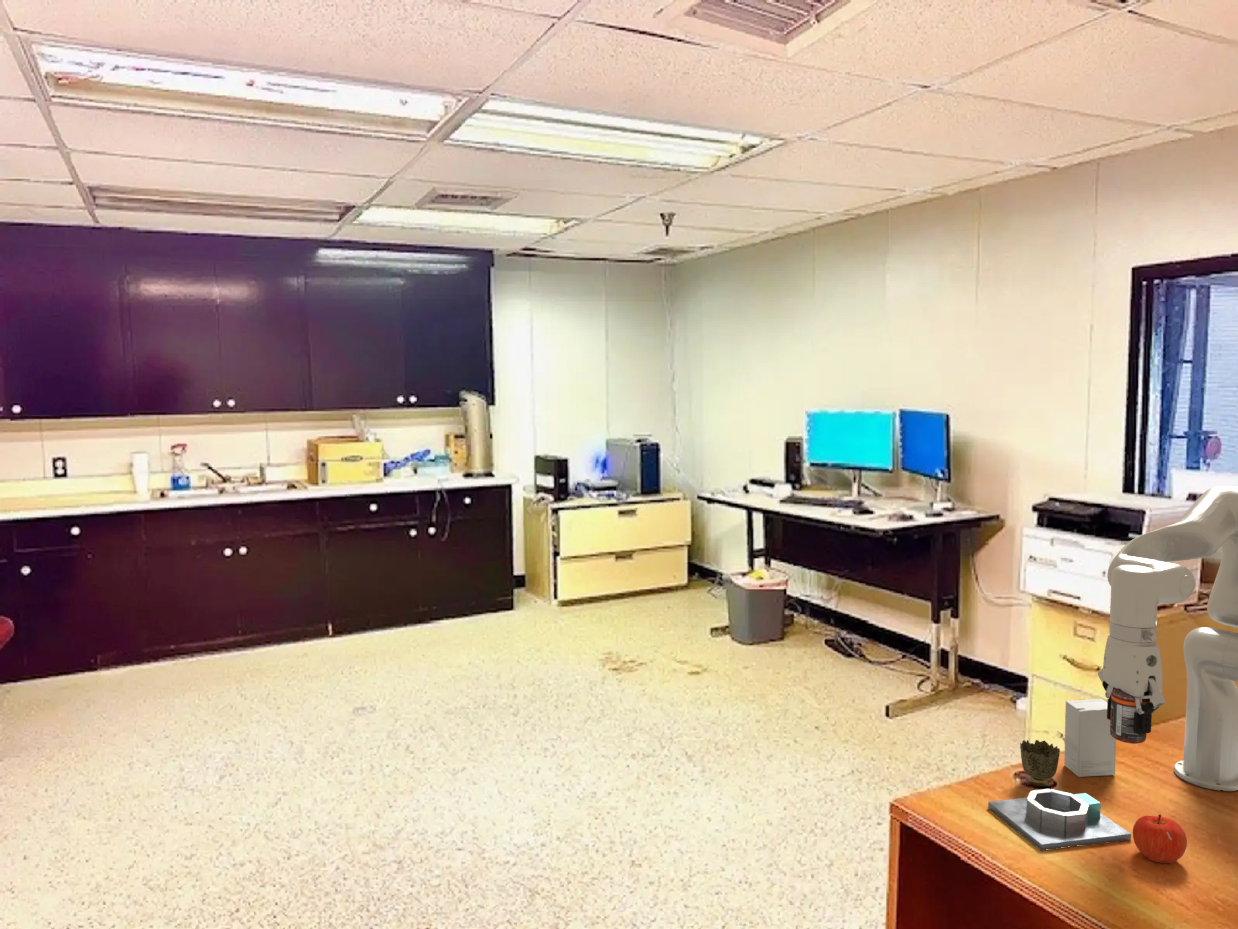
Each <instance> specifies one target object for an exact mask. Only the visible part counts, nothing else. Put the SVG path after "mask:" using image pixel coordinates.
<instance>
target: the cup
mask: <svg viewBox="0 0 1238 929" xmlns="http://www.w3.org/2000/svg"><path fill="white" fill-rule="evenodd" d="M1019 744H1020V745H1019V746H1020V747H1019V748H1020V758H1021V765H1022V768H1023V771H1024V772H1025V774H1027V775H1028V776H1029V777H1028V780H1029V782H1030V783H1031V784H1032V785H1034V786H1036V787H1047V785H1048V784H1049V779H1052V778H1053V777H1054V776H1055V774H1056V773H1057V769H1058V765H1059V760H1060V754H1061V750H1060V748H1059V747H1058V746H1057V745H1056V746H1055V747H1054V745H1053V743H1051V744H1049V743H1048V742H1047V741H1046V740H1042V741H1040V740H1038V739H1035V742H1033V743H1031V742H1030V740H1025V739H1023V740H1022V741H1021V742H1020V743H1019Z"/></svg>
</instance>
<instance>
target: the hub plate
mask: <svg viewBox="0 0 1238 929" xmlns="http://www.w3.org/2000/svg"><path fill="white" fill-rule="evenodd" d="M1101 804H1102V803H1101V802H1100V801H1098V800H1097V799H1095V798H1094V797H1093V796H1091V795H1089V794H1088V793H1086V792H1083V793H1075V794H1074V793H1072V792H1065V791H1062V790H1057V789H1053V788H1051V789H1050V788H1044V789H1035V790H1030V792H1029V793H1028V796H1027V797H1020V798H1013V799H1011V798H1010V799H1002V800H994V801H993V800H992V801H988V809H989V808H990V809H989V810H990V811H992V812H993V813H994V814H996V815H997V816H998V817H999V818H1001V819H1002V821H1004V822H1005V821H1006V822H1005V823H1007V824H1008V825H1009V826H1011V827H1012V828H1013V829H1014V830H1015V829H1016V830H1015V831H1017V832H1018V833H1019V834H1020V835H1021V834H1022V836H1023V837H1024V838H1025V837H1026V838H1027V839H1026V838H1025V839H1026V840H1028V841H1029V842H1030V843H1031V842H1032V843H1031V844H1032V845H1033V846H1035V845H1036V846H1037V847H1038V848H1037V847H1036V846H1035V847H1036V848H1037V849H1039V851H1041V850H1044V851H1047V850H1046V849H1053V850H1057V849H1056V848H1061V847H1068V846H1077V845H1086V846H1093V845H1092V844H1094V845H1100V844H1099V843H1102V844H1107V843H1106V842H1111V843H1118V842H1117V841H1119V842H1124V841H1125V840H1127V841H1132V833H1131V832H1129V831H1128V830H1127V829H1125V828H1123V827H1122V826H1121V825H1119V824H1117V823H1116V822H1114V821H1113V820H1112V819H1110V818H1109V817H1107V816H1106V815H1104V814H1103V813H1101V806H1102V805H1101ZM1125 842H1126V841H1125ZM1061 849H1062V848H1061Z"/></svg>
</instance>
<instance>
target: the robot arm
mask: <svg viewBox="0 0 1238 929" xmlns="http://www.w3.org/2000/svg"><path fill="white" fill-rule="evenodd" d="M1220 548H1221V560H1220V563H1219V564H1220V565H1219V568H1218V570H1217V574H1216V577H1215V580H1214V582H1213V586H1212V589H1211V591H1210V594H1209V597H1208V601H1207V608H1206V609H1207V611H1206V613H1207V615H1208V617H1209V618H1210V619H1211V620H1213V621H1214V622H1216V623H1219V624H1220V625H1224V626H1228V627H1232V628H1235V629H1238V486H1227V485H1226V486H1225V485H1223V486H1222V485H1220V486H1216V487H1215V486H1214V487H1211V488H1208V489H1207V490H1205V491H1204V492H1203V493H1202V494H1201V495H1200V497H1199V496H1198V498H1197V499H1196V501H1195V502H1193V504H1191V506H1190V507H1189V508H1188V509H1187V511H1186V512H1185V513H1184V514H1182V516H1181V517H1180V518H1179V519H1178V520H1177V521H1176V522H1175V523H1173V524H1168V525H1166V526H1163V527H1160V528H1159V527H1158V528H1157V529H1154V530H1151V531H1148V532H1146V533H1143V534H1140V535H1138V536H1135V538H1133V539H1132V540H1129V541H1128V542H1127V543H1126V544H1125V545H1124V546H1123V547H1122V548H1121V549H1120V550H1119V551H1118V552H1117V553H1116V555H1115V556H1114V557H1113V559H1112V560H1111V562H1110V563H1109V567H1108V569H1107V578H1106V579H1107V582H1108V584H1109V586H1110V587H1111V588H1110V603H1109V604H1110V607H1109V627H1108V628H1109V630H1108V635H1107V639H1106V642H1105V648H1104V655H1103V664H1102V665H1103V667H1102V668H1101V669H1100V670H1099V671H1098V672H1097V675H1098V678H1099V680H1100V682H1101V683H1102V687H1103V689H1104V691H1105V692H1104V693H1105V694H1104V696H1105V698H1106V699H1107V701H1106V702H1107V719H1109V720H1110V718H1111V693H1112V690H1113V689H1115V688H1117V689H1118V688H1119V689H1121V690H1122V691H1124V692H1126V693H1127V694H1129V695H1131V696H1134V699H1135V704H1136V708H1137V712H1135V713H1134V730H1133V731H1134V733H1136V734H1144V733H1146V734H1150V733H1151V732H1152V717H1153V716H1152V715H1153V714H1154V713H1155V712H1156V710H1158V709H1159V708H1160V707H1162V706H1163V705H1164V704H1166V699H1165V697H1164V695H1163V665H1162V664H1163V663H1162V656H1161V650H1160V645H1159V644H1158V643H1157V642H1156V641H1157V640H1158V636H1157V622H1158V605H1159V604H1160V605H1161V604H1164V605H1165V604H1166V605H1167V604H1168V605H1169V604H1174V605H1175V604H1179V603H1182V602H1184V601H1186V600H1187V599H1189V598H1190V597H1191V596H1192V594H1193V593H1194V591H1195V588H1196V580H1195V576H1194V574H1193V572H1192V571H1191V570H1190V569H1188V568H1187V567H1185V566H1183V565H1181V564H1178V563H1173V562H1180V561H1183V562H1184V561H1191V560H1192V561H1193V560H1199V559H1202V558H1203V559H1204V558H1208V557H1211V556H1212V555H1214V554H1216V553H1217V552H1218V550H1219V549H1220ZM1182 648H1183V658H1184V663H1185V669H1186V671H1185V672H1186V704H1185V721H1184V723H1185V725H1184V744H1183V760H1179V761H1177V762H1176V763H1174V766H1173V767H1174V769H1173V770H1174V773H1175V774H1176V776H1177V777H1179V778H1180V779H1182V780H1184V781H1186V782H1187V783H1189V784H1192V785H1194V786H1198V787H1200V788H1204V789H1209V790H1215V791H1220V790H1223V792H1237V791H1236V790H1238V685H1237V684H1236V682H1238V632H1235V631H1230V630H1225V629H1221V628H1217V627H1216V628H1215V627H1206V626H1205V627H1204V626H1203V627H1202V626H1201V627H1197V628H1194V629H1192V630H1190V631H1189V632H1188V633H1187V635H1186V636H1185V638H1184V641H1183V647H1182ZM1144 693H1145V695H1144ZM1142 699H1145V701H1146V704H1145V705H1143V703H1142Z"/></svg>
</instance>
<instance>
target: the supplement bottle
mask: <svg viewBox="0 0 1238 929" xmlns="http://www.w3.org/2000/svg"><path fill="white" fill-rule="evenodd" d="M1144 695H1145V693H1144ZM1142 703H1143V705H1145V704H1146V701H1145V699H1142ZM1135 712H1137V708H1136V704H1135V699H1134V696H1131V695H1129V694H1127V693H1126V692H1124V691H1122V690H1121V689H1119V688H1118V689H1117V688H1115V689H1113V690H1112V693H1111V718H1110V734H1111V736H1112V737H1113V738H1115V739H1116V741H1119V742H1123V743H1126V744H1133V745H1135V744H1136V745H1137V744H1142V743H1144V742H1145V741H1146V740H1147V733H1144V734H1136V733H1134V731H1133V730H1134V713H1135Z"/></svg>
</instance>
